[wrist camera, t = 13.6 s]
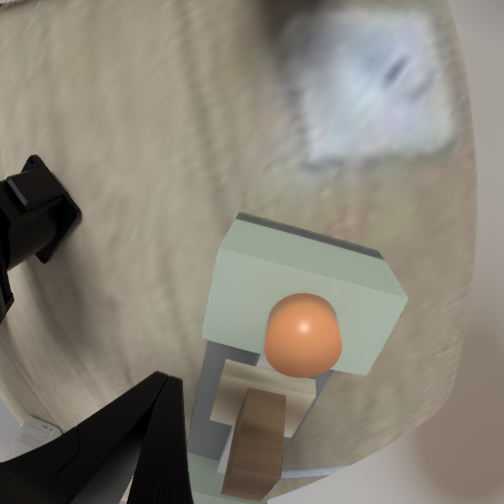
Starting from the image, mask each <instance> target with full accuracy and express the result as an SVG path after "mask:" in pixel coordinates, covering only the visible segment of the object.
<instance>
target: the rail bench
mask: <svg viewBox="0 0 504 504" xmlns="http://www.w3.org/2000/svg"><path fill="white" fill-rule="evenodd" d="M298 293H310V294H314V295H317V296H320V297H322V298H324V299H325V300H327V301H328V302H329V303H330V304H331V305H332V307H333V308H334V310H335V312H336V316H337V321H338V325H339V330H340V335H341V340H342V352H341V355H340V358H339V359H338V361H337V362H336V364H335V365H334V366H333V367H332V368H330V369H329V370H328V371H326V372H324V373H322V374H320V375H317V376H314V377H308V378H310V379H315V384H316V397H315V399H314V400H313V402H312V404H311V406H310V407H309V409H308V411H307V412H306V414H305V416H304V417H303V419H302V421H301V422H300V424H299V426H298V427H297V429H296V430H295V432H294V434H293V435H292V437H291V438H290V437H284V444H283V452H284V451H285V449H286V448H287V446H288V445H289V443H290V442H291V440H292V439H293V437H294V435H295V434H296V432H297V431H298V429H299V427H300V426H301V424H302V423H303V421H304V419H305V418H306V416H307V414H308V413H309V411H310V409H311V408H312V406H313V404H314V403H315V401H316V399H317V398H318V396H319V394H320V392H321V391H322V389H323V387H324V385H325V384H326V382H327V380H328V378H329V376H330V375H331V373H332V371H333V370H336V371H341V372H347V373H352V374H358V375H364V376H366V375H367V373H368V372H369V370H370V368H371V367H372V365H373V363H374V362H375V360H376V358H377V357H378V355H379V353H380V351H381V350H382V348H383V346H384V344H385V343H386V341H387V339H388V337H389V335H390V334H391V332H392V330H393V328H394V326H395V324H396V322H397V320H398V318H399V317H400V315H401V313H402V311H403V309H404V307H405V305H406V303H407V301H408V299H409V298H408V297H407V295H406V293H405V292H404V290H403V289H402V287H401V285H400V284H399V282H398V281H397V279H396V277H395V276H394V274H393V273H392V271H391V269H390V268H389V266H388V265H387V263H386V262H385V260H384V259H383V257H382V256H381V254H380V253H379V251H376V250H373V249H370V248H366V247H363V246H360V245H356V244H353V243H349V242H346V241H343V240H339V239H336V238H332V237H329V236H325V235H322V234H318V233H315V232H311V231H308V230H304V229H300V228H297V227H293V226H290V225H286V224H282V223H279V222H275V221H271V220H267V219H264V218H260V217H256V216H252V215H249V214H245V213H241V212H239V214H238V215H237V217H236V219H235V220H234V222H233V224H232V226H231V227H230V229H229V231H228V232H227V234H226V236H225V237H224V239H223V241H222V242H221V244H220V246H219V248H218V252H217V257H216V261H215V266H214V271H213V276H212V280H211V285H210V290H209V295H208V300H207V305H206V310H205V315H204V320H203V325H202V331H201V336H200V338H203V339H206V340H208V344H207V349H206V354H205V358H204V363H203V368H202V373H201V378H200V383H199V388H198V393H197V398H196V403H195V408H194V413H193V418H192V423H191V428H190V433H189V439H188V444H187V456H188V467H189V469H188V471H189V475H190V484H191V491H192V497H193V501H194V504H267V499H268V494H267V495H266V496H265V497H264V498H263V500H262V501H261V502H258V501H252V500H247V499H241V498H236V497H231V496H226V495H222V494H221V491H222V486H223V481H224V476H225V472H226V467H227V462H228V457H229V452H230V448H231V443H232V438H233V433H234V428H235V426H231V425H227V424H223V423H219V422H216V421H212V420H210V416H211V412H212V408H213V405H214V401H215V397H216V394H217V390H218V386H219V382H220V379H221V375H222V371H223V368H224V364H225V361H226V359H228V360H232V361H236V362H240V363H244V364H248V365H252V366H256V367H260V368H264V369H268V370H272V371H277V370H275V369H274V368H273V367H272V366H271V365H270V364H269V362H268V361H267V359H266V356H265V351H264V348H265V339H266V332H267V324H268V317H269V314H270V312H271V310H272V308H273V307H274V306H275V305H276V304H277V303H278V302H279V301H280V300H282V299H283V298H285V297H287V296H290V295H293V294H298ZM277 372H278V371H277Z"/></svg>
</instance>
